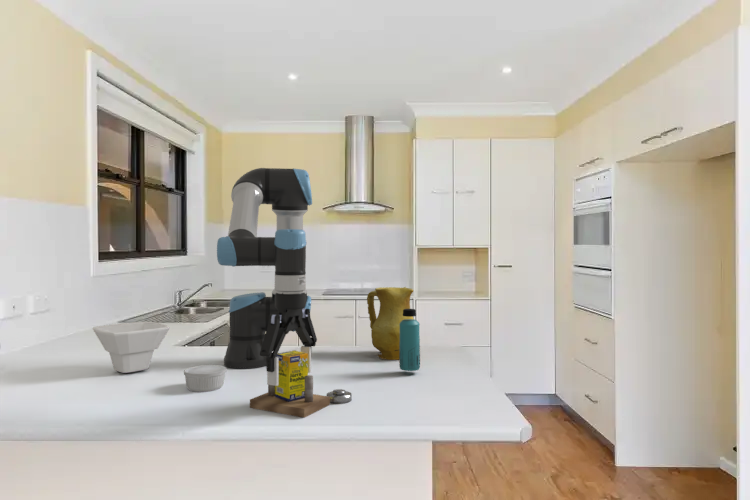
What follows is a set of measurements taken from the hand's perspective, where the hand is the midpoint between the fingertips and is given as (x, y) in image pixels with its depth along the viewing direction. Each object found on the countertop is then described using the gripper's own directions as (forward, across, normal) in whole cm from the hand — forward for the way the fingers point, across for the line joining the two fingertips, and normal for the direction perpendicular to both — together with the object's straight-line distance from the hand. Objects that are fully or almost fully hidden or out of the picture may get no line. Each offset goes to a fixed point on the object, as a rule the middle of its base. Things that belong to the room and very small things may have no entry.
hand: (290, 378), depth 129 cm
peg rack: (+7, 0, 0) cm, 7 cm away
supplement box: (+5, 0, 0) cm, 5 cm away
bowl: (+8, +6, +65) cm, 65 cm away
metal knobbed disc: (+7, +10, -8) cm, 14 cm away
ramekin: (+7, +3, +31) cm, 32 cm away
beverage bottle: (+7, +44, -13) cm, 46 cm away
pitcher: (+8, +65, +2) cm, 65 cm away
